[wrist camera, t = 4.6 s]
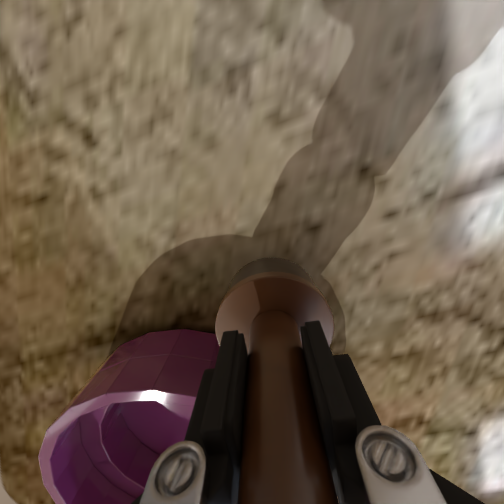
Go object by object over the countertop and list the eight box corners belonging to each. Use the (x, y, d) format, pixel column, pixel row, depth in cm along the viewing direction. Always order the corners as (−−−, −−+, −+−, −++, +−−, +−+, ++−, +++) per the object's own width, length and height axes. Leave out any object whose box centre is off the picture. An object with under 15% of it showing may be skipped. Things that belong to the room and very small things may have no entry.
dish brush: (233, 343, 15) (185, 641, 6) (215, 261, 14) (105, 483, 4) (323, 333, 15) (437, 638, 5) (315, 246, 13) (461, 459, 4)
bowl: (133, 476, 23) (95, 566, 18) (68, 336, 18) (-10, 403, 13) (302, 468, 22) (314, 564, 16) (279, 312, 17) (285, 378, 12)
